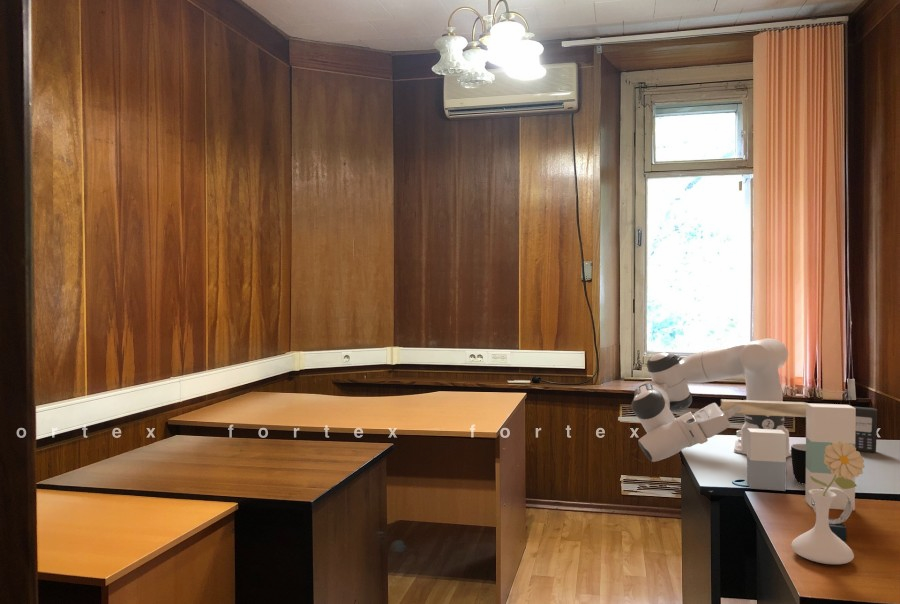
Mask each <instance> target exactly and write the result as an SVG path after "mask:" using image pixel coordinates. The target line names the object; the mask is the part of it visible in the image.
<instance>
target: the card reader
mask: <svg viewBox="0 0 900 604" xmlns="http://www.w3.org/2000/svg"><path fill="white" fill-rule="evenodd" d="M851 406H852V405H851ZM852 407H854V408H856V425H855V448H856V451H858V452H861V453H862V452H863V453H872V454H873V453H877V441H878V440H877V438H878V436H877V435H878V430H877V429H878V427H877V426H878V424H877V423H878V409H877V408H874V407H862V406H852Z"/></svg>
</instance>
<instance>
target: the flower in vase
mask: <svg viewBox="0 0 900 604" xmlns="http://www.w3.org/2000/svg"><path fill="white" fill-rule="evenodd" d="M825 452H826V454H824V457H825V458H824V459H825V460H824V463H825V464H826V465H827V467H828V469H831V473H832V474H835V475H834V478H833V480H832V481H831V482H830V484H829V485H828V486H827V484H826V483H824V482H821V481H819V480H817V479H815V478H813V477H812V476H811V479H812V480H813V481H814V482H816V483H819V484H821V485H823V486H826V487H827V488H826V490H821V489H812V490H809V493H810V494H811V496H812V497H813V500H814V503H815V507H816V513H815V525H814V526H813V527H812V528H811V529H809V530H807V531H806V532H803V533H801V534H800V535H798V536H796V537H795V538H793V540H792V542H791V547H790V548H792V550H793V551H794V552H795V554H797V555H799V556H800V557H802V558H804V559H807V560H809V561H812V562H814V563H815V562H816V563H818V564H819V563H820V564H825V565H843V564H845V565H846V564H848V563H850V562H851V561H852V560H853V559H854V558H855V554H854V552H853V550H852V549H851V547H849V545H848V544H847V543H846V542H845V541H842V540H841V539H840V538H839V537H837V536H836V535H835V534H834V533H833V532H832V531H831V530H830V527H829V523H828V518H829V515H830V514H829V513H830V509H829V508H830V504H831V502H832V500H833V499H834V498H835V497H836V494H835V493H833V492H831V491H827V490H828V489H829V487H830V486H831V484H832V483H833V482H834V480H835V482H836V483H837V485H838V486H840V487H841V488H843V489H849V488H853V487H855V488H856V487H857V486H858V485H857V484H856V482H855V483H854V482H853V481H852V480H851V479H853V478H854V476H855V478H857V477H859V476H860V475H863V473H864V471H863V469H864V468H865V464H864V462H865V461H864V457H863V456H862V455H861V453H860V452H861V451H856V448H855V447H854V446H853V445H851V444H850V445H849V444H848V443H847V442H844V443H843V442H841V441H839V440H838V441H837V442H833V443H832V446H831V445H828V446H826V449H825ZM836 475H837V476H839V477H838V478H836ZM853 475H854V476H853ZM835 478H836V479H835Z"/></svg>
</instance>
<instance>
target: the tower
mask: <svg viewBox="0 0 900 604" xmlns="http://www.w3.org/2000/svg"><path fill="white" fill-rule="evenodd" d="M805 403H806V417H805V444H806V484H805V503H807V504H808V505H809V507H810V508H813V506H812V504H811V503H812V499H813V497H812V496H811V494H810V493H809V490H812V489H820V488H825V487H826V486H823V485H821V484H819V483H816V482H814V481H813V480H812V479H811V476H812V477H813V478H815V479H817V480H819V481H821V482H824V483H826V484H827V486H828V485H829V484H830V482H831V481H832V480H833V478H834V475H835V474H832V473H831V469H828V467H827V465H826V464H825V463H824V460H825V459H824V458H825V457H824V454H826V452H825V449H826V446H828V445H831V446H832V443H833V442H837V441H838V440H839V441H841V442H843V443H844V442H847V443H848V444H849V445H850V444H851V445H853V446H854V447H855V425H856V408H854V407H855V406H853V407H852V405H850V404H838V403H837V404H836V403H835V404H834V403H808V402H805ZM853 476H854V475H853ZM838 477H839V476H837V475H836V478H838ZM836 478H835V479H836ZM851 480H852V481H853V482H854V483H855V484H856V476H854V478H853V479H851ZM830 487H836V488H839V489H841V490H843V491H844V492H845V493H846V494H847V495H848V496H849V497H850V499H851V500H852V504H853V510H852V511H856V504H855V503H856V501H855V499H856V498H855V497H856V487H853V488H849V489H843V488H841V487H840V486H838V485H837V483H836V482H835V480H834V482H833V483H832V484H831V486H830ZM832 492H833V493H835V494H836V497H835V498H834V499H833V500H832V502H831V504H830V508H829V510H843V511H844V510H845V508H846V505H847V502H848V498H847V496H846V495H845V494H843V493H841V492H839V491H832Z"/></svg>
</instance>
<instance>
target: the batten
mask: <svg viewBox="0 0 900 604" xmlns="http://www.w3.org/2000/svg"><path fill="white" fill-rule="evenodd" d="M806 403H807V402H805V401H783V402H782V401H754V400H747V399H743V400H742V399H725V398H724V399H723V398H721V399H720V406H721V410H722V412H723V411H725V410H728V409H730V408H731V407H732V406H734V405H738V406H739V407H740V409H741V411H739V412H737V413H736V414H735V415H743V416H745V415H769V416H784V417H794V418H795V417H798V418H799V417H800V418H806Z"/></svg>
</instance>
